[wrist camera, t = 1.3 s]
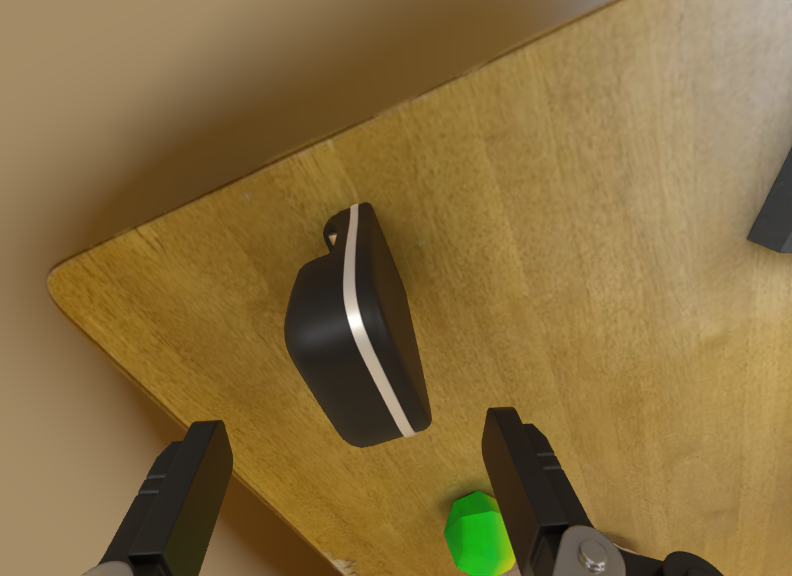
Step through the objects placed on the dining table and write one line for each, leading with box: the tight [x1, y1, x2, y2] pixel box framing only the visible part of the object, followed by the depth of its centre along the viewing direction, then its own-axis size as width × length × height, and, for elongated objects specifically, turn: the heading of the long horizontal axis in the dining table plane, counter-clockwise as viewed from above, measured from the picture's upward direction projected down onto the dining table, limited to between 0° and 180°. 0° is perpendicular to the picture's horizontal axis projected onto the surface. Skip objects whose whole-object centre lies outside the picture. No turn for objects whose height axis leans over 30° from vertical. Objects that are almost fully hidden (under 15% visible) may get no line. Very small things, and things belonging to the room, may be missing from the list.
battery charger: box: [284, 203, 432, 448], centre depth 18 cm, size 7×4×11 cm, turn 19°
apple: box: [444, 490, 516, 576], centre depth 33 cm, size 7×6×9 cm
